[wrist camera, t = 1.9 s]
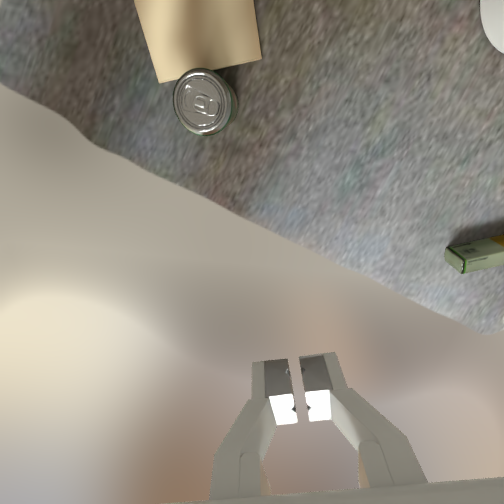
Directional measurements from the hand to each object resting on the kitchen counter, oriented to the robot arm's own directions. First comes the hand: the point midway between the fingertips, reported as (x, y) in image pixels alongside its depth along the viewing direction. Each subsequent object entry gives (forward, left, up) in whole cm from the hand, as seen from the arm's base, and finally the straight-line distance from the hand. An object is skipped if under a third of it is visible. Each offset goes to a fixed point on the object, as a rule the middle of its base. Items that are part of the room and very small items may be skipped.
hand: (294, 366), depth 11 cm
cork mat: (+4, -19, -29) cm, 35 cm away
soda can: (+4, -11, -29) cm, 32 cm away
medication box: (-32, +15, -30) cm, 46 cm away
